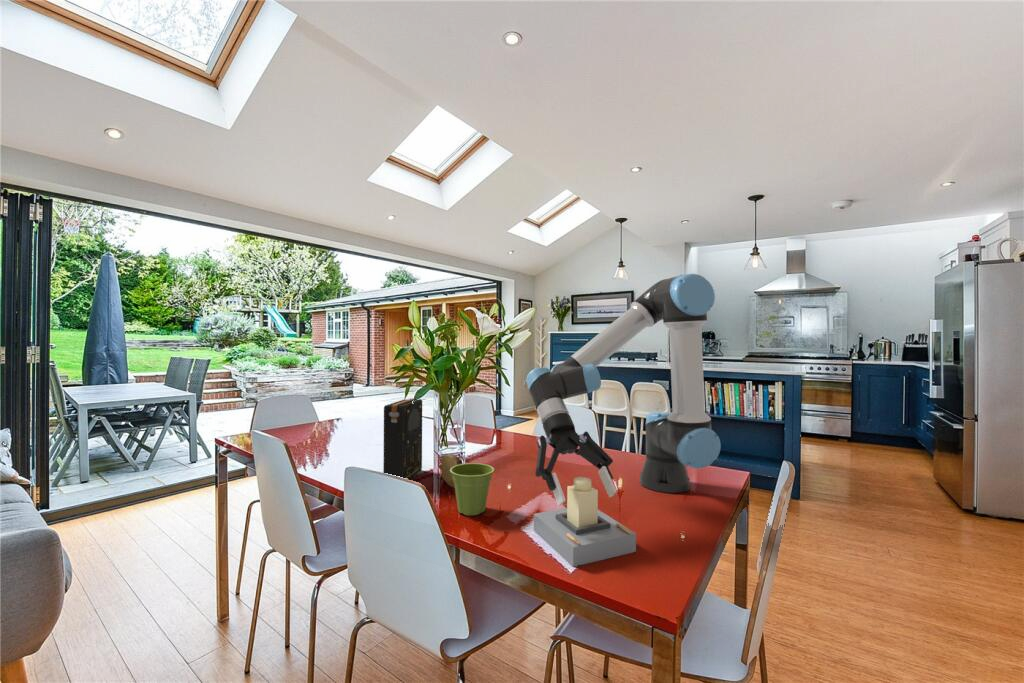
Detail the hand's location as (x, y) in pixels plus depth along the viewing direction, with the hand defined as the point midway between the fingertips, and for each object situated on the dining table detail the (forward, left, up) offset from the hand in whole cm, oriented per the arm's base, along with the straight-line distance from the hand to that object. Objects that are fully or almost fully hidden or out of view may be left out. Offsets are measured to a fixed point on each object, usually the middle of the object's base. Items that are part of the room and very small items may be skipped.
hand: (588, 498), depth 97 cm
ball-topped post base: (0, -2, -10) cm, 11 cm away
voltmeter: (+30, -64, -11) cm, 72 cm away
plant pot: (+18, -28, -11) cm, 35 cm away
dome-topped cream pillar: (0, -2, -6) cm, 7 cm away
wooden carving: (+17, -48, -11) cm, 52 cm away
